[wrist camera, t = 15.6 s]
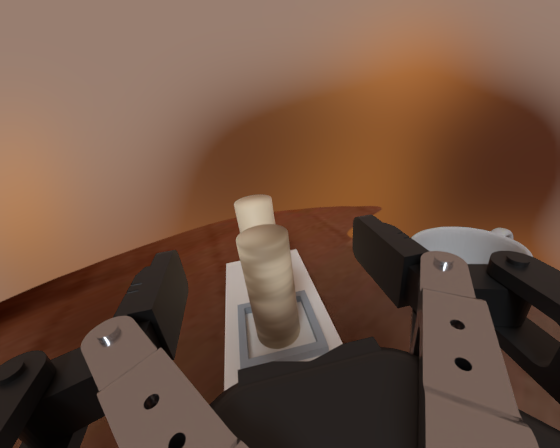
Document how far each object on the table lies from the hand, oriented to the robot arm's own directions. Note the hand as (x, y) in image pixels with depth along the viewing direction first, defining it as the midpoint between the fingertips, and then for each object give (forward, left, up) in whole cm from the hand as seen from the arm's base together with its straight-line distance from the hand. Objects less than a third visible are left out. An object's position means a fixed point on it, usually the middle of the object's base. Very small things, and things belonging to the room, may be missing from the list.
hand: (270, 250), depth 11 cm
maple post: (-8, +7, -17) cm, 20 cm away
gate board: (-12, +10, -18) cm, 24 cm away
